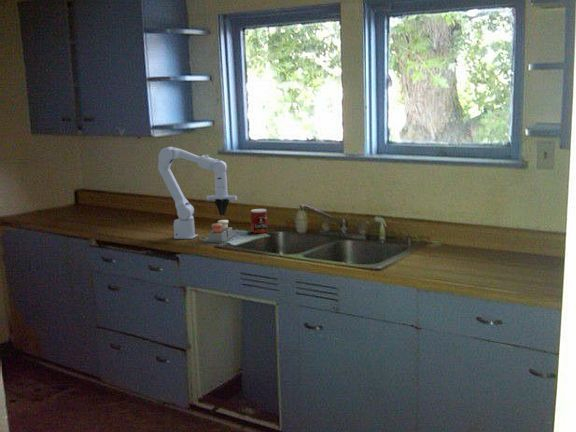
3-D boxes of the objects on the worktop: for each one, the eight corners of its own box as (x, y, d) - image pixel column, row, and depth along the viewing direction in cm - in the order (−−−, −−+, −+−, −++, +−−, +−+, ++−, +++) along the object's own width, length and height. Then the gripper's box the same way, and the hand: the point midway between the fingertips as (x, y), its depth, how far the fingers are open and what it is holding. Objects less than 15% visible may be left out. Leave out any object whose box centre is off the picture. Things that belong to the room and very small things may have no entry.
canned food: (253, 234, 323) (252, 211, 321) (250, 231, 330) (249, 209, 328) (269, 233, 325) (268, 210, 323) (265, 230, 332) (264, 208, 330)
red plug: (210, 234, 310) (209, 225, 309) (214, 232, 315) (213, 223, 314) (220, 234, 309) (220, 225, 308) (224, 232, 314) (223, 223, 313)
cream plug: (216, 230, 318) (216, 221, 317) (220, 228, 323) (219, 219, 322) (226, 231, 317) (226, 221, 316) (230, 228, 322) (229, 219, 321)
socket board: (204, 242, 310) (204, 233, 309) (216, 234, 325) (216, 227, 324) (225, 242, 307) (224, 234, 307) (236, 235, 323) (235, 227, 322)
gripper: (238, 185, 318) (239, 213, 321) (209, 185, 322) (211, 213, 324) (233, 187, 312) (235, 216, 314) (204, 187, 315) (206, 216, 318)
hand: (222, 215), depth 319 cm, fingers closed
